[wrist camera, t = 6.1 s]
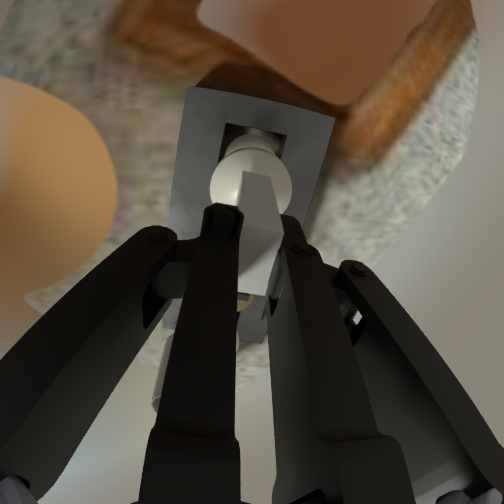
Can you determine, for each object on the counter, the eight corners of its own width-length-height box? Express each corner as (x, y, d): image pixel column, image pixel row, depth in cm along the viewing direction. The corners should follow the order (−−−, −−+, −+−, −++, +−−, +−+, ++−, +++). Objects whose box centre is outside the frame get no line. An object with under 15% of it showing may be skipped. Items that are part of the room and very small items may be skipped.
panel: (194, 86, 23) (188, 86, 20) (326, 114, 24) (335, 118, 22) (167, 310, 36) (162, 327, 33) (261, 326, 37) (262, 343, 35)
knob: (227, 125, 22) (217, 143, 15) (284, 137, 22) (301, 161, 16) (216, 179, 24) (204, 219, 17) (270, 189, 25) (280, 233, 18)
